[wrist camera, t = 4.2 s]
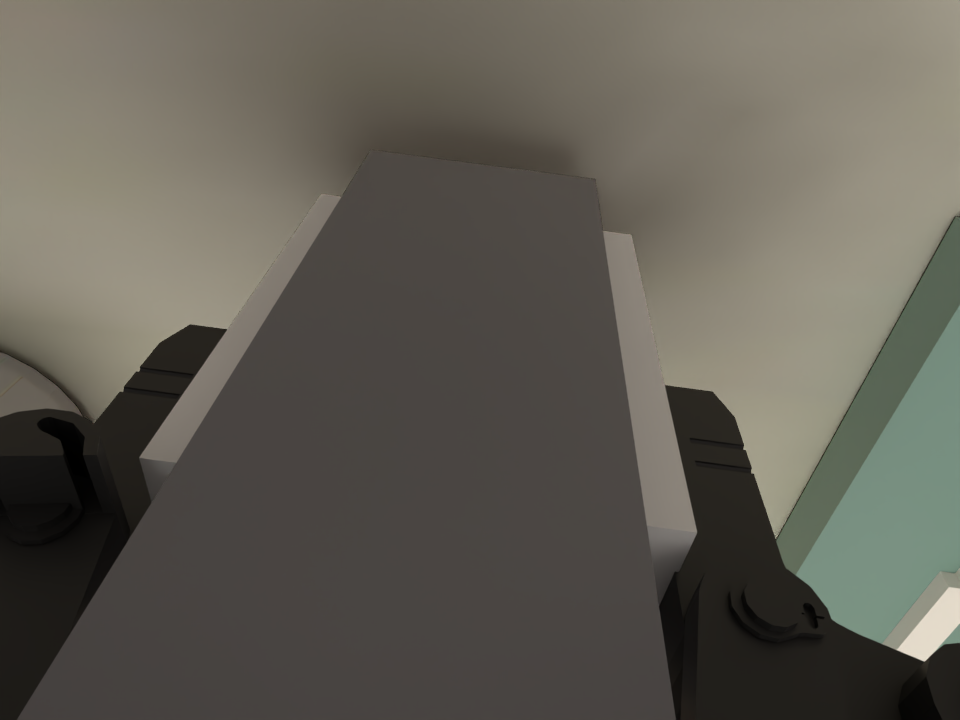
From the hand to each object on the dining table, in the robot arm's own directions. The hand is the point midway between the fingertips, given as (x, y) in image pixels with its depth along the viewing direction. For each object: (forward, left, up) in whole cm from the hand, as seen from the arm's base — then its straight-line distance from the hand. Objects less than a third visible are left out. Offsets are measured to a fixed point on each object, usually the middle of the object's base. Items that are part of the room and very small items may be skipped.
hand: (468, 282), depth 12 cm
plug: (0, 0, -1) cm, 1 cm away
